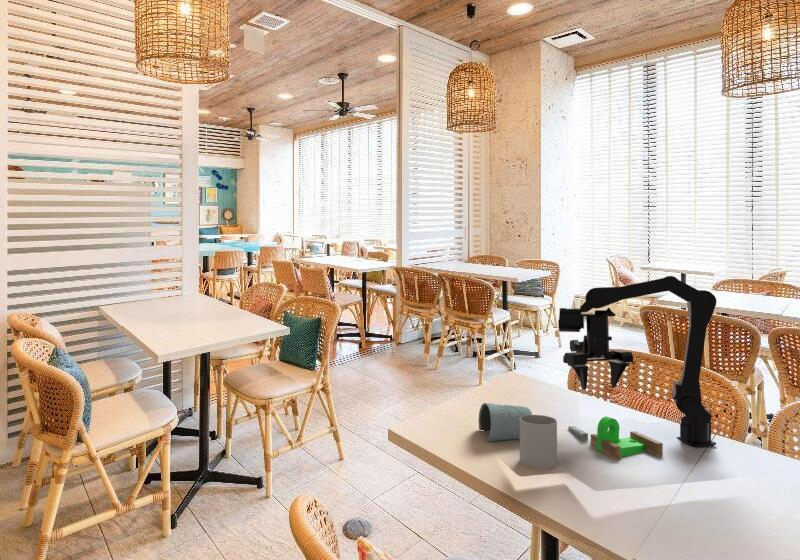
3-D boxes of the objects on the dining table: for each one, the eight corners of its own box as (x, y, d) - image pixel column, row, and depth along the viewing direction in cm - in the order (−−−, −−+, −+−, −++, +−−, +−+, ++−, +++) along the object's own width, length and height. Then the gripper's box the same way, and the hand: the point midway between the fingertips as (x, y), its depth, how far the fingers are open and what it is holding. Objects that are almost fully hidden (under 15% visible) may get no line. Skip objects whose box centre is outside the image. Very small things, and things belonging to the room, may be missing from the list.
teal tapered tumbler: (536, 408, 129) (492, 406, 127) (533, 448, 128) (489, 447, 126) (520, 401, 139) (479, 399, 137) (518, 438, 138) (476, 436, 136)
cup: (557, 458, 119) (557, 416, 119) (556, 470, 111) (556, 425, 111) (521, 454, 121) (521, 413, 122) (518, 466, 114) (517, 422, 114)
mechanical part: (616, 457, 119) (618, 423, 119) (596, 449, 124) (598, 417, 124) (649, 452, 124) (651, 420, 124) (628, 444, 130) (630, 414, 130)
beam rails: (635, 442, 130) (635, 431, 130) (662, 455, 120) (662, 443, 120) (590, 446, 127) (590, 434, 127) (615, 459, 118) (614, 446, 118)
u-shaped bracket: (572, 434, 137) (572, 425, 137) (589, 444, 129) (589, 434, 129) (532, 437, 134) (532, 428, 134) (546, 447, 127) (546, 437, 127)
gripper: (608, 329, 148) (610, 381, 148) (552, 331, 144) (553, 385, 144) (634, 332, 137) (635, 388, 137) (573, 334, 133) (575, 392, 133)
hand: (598, 388), depth 138 cm, fingers open, 9 cm apart
